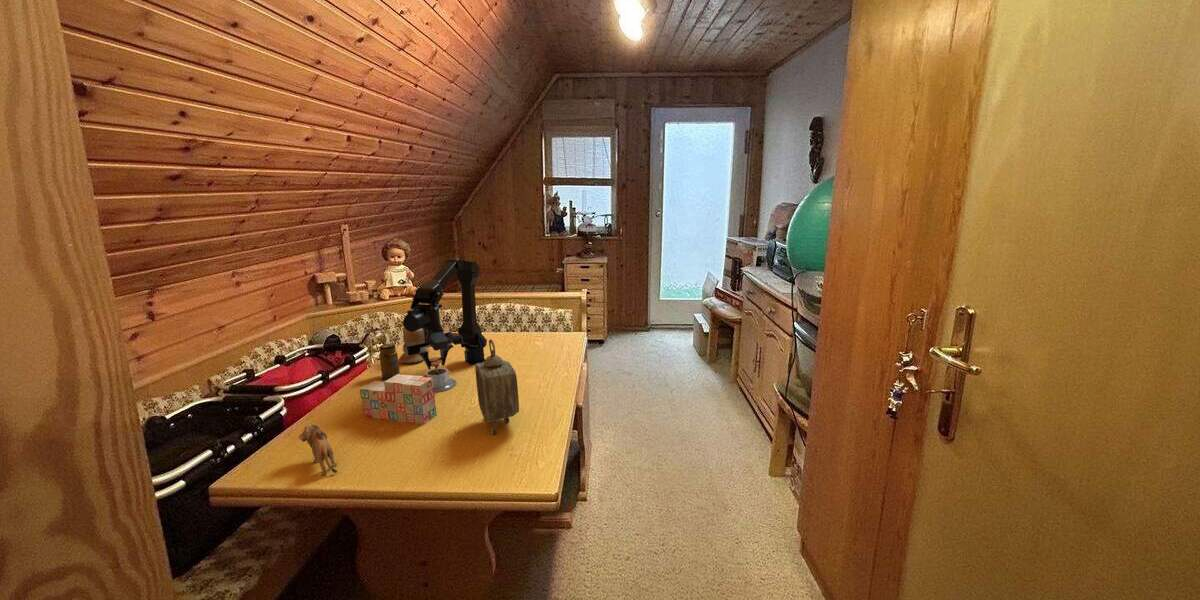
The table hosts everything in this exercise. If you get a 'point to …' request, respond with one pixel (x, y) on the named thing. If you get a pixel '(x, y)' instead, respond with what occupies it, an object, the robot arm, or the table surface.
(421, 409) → the stack of blocks
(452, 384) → the coaster
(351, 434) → the table surface
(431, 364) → the plunger
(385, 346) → the condiment
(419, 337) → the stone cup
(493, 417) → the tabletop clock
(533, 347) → the table surface
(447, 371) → the carafe
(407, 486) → the table surface
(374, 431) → the table surface
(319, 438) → the lion figurine
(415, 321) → the robot arm
